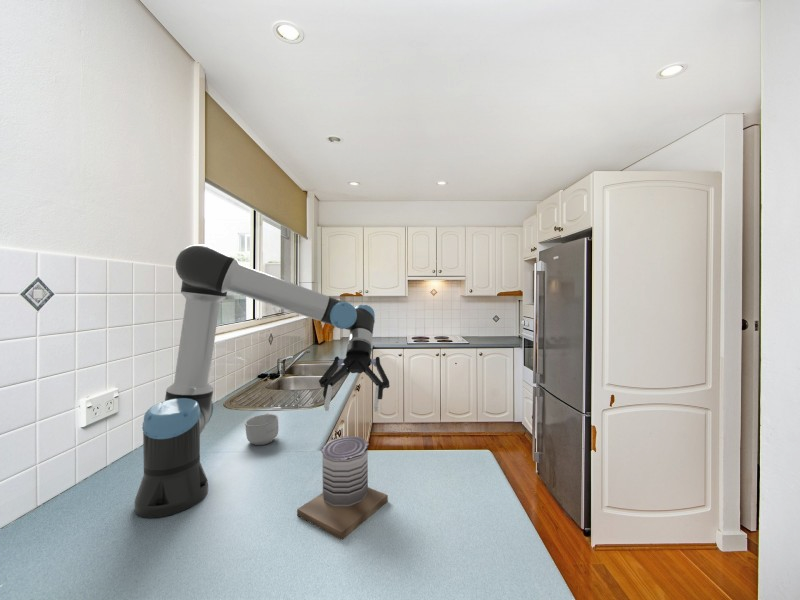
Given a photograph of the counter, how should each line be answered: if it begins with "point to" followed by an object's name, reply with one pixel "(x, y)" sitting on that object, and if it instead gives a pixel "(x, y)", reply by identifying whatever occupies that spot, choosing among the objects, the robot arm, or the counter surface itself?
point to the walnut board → (341, 513)
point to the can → (345, 471)
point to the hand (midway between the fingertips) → (350, 409)
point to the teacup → (262, 429)
